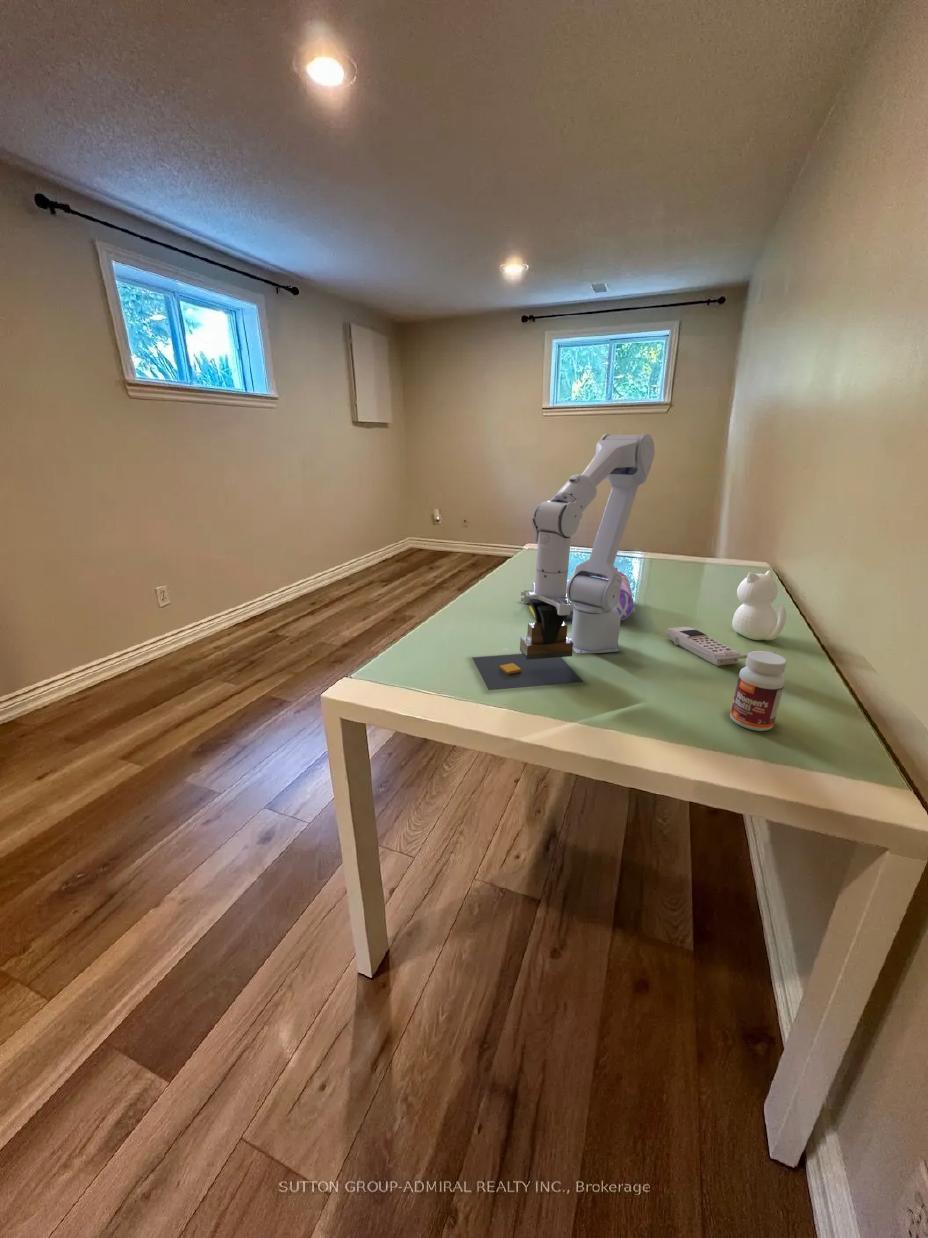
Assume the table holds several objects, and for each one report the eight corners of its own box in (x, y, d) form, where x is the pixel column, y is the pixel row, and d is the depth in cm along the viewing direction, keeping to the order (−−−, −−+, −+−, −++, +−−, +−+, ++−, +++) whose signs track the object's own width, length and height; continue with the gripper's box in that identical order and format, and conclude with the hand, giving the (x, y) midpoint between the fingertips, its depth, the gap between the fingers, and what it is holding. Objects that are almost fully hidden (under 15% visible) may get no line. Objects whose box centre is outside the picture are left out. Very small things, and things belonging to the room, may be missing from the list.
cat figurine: (746, 625, 120) (759, 565, 115) (794, 644, 109) (811, 578, 104) (718, 629, 117) (730, 568, 112) (764, 649, 106) (781, 582, 101)
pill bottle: (725, 722, 78) (739, 657, 74) (734, 707, 82) (748, 645, 78) (769, 737, 74) (786, 669, 70) (776, 720, 79) (793, 656, 75)
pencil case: (594, 596, 141) (597, 564, 137) (627, 599, 139) (632, 567, 135) (595, 622, 120) (599, 585, 117) (634, 626, 118) (640, 588, 115)
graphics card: (520, 589, 135) (563, 588, 135) (520, 602, 136) (562, 600, 137) (532, 610, 119) (581, 608, 120) (532, 624, 120) (580, 622, 121)
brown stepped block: (563, 647, 97) (565, 618, 95) (572, 656, 93) (574, 627, 91) (519, 650, 95) (521, 621, 93) (526, 659, 91) (528, 629, 89)
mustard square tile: (512, 665, 96) (512, 662, 96) (521, 671, 93) (521, 668, 93) (499, 668, 95) (499, 665, 94) (507, 674, 92) (507, 671, 92)
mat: (555, 653, 103) (555, 651, 103) (583, 683, 90) (583, 681, 90) (472, 659, 99) (472, 657, 99) (488, 691, 87) (488, 689, 86)
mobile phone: (754, 655, 88) (661, 611, 110) (746, 685, 90) (657, 635, 112) (779, 652, 90) (683, 609, 112) (771, 681, 92) (679, 633, 114)
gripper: (518, 560, 95) (515, 626, 99) (544, 580, 81) (539, 655, 86) (553, 559, 96) (548, 624, 101) (584, 579, 83) (577, 652, 87)
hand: (546, 638), depth 93 cm, fingers closed on brown stepped block, 2 cm apart
